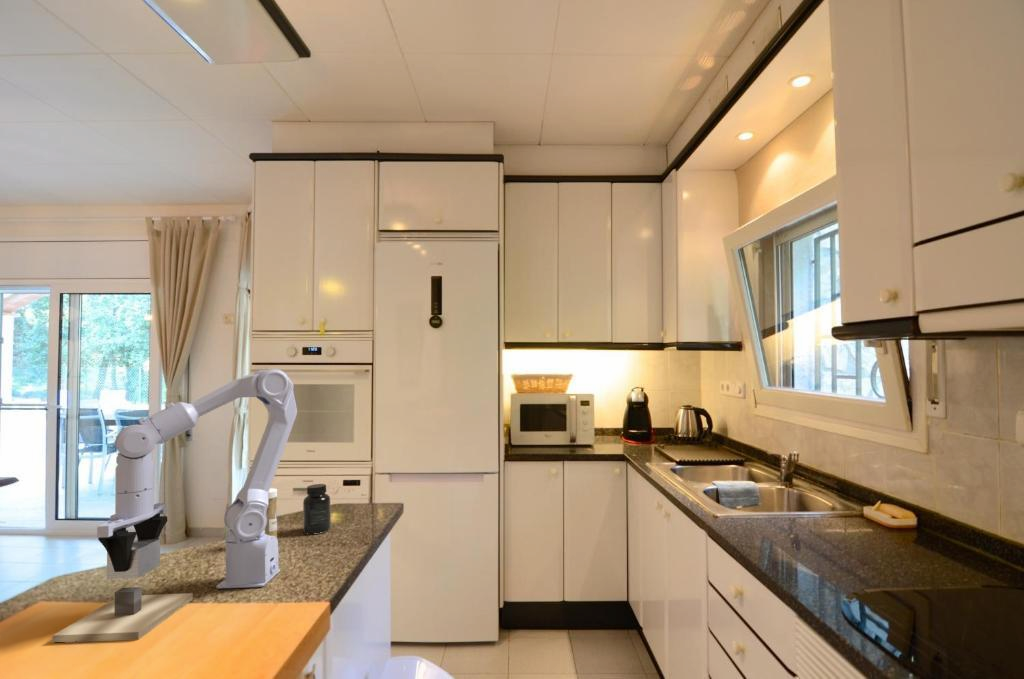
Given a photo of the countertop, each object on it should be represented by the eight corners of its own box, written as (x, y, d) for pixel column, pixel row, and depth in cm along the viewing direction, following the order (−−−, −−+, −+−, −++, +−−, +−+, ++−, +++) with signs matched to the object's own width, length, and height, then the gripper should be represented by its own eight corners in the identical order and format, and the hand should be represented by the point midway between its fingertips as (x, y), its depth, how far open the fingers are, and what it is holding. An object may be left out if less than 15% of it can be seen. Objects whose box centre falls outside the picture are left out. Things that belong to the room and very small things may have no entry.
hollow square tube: (160, 565, 95) (160, 538, 95) (137, 577, 90) (138, 549, 90) (130, 566, 95) (130, 539, 95) (106, 578, 90) (107, 550, 90)
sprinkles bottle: (279, 544, 125) (278, 490, 126) (258, 548, 123) (258, 493, 123) (276, 539, 129) (275, 486, 130) (256, 543, 126) (256, 489, 127)
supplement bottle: (305, 528, 137) (305, 484, 138) (332, 525, 139) (331, 481, 140) (301, 536, 131) (300, 489, 131) (329, 533, 132) (328, 487, 133)
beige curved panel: (192, 599, 96) (192, 571, 96) (138, 639, 82) (138, 606, 82) (119, 602, 96) (119, 574, 96) (52, 643, 82) (52, 610, 82)
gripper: (142, 481, 100) (142, 550, 100) (79, 501, 86) (78, 581, 85) (177, 480, 100) (177, 549, 100) (120, 499, 86) (120, 580, 85)
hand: (134, 564), depth 92 cm, fingers closed on hollow square tube, 6 cm apart
